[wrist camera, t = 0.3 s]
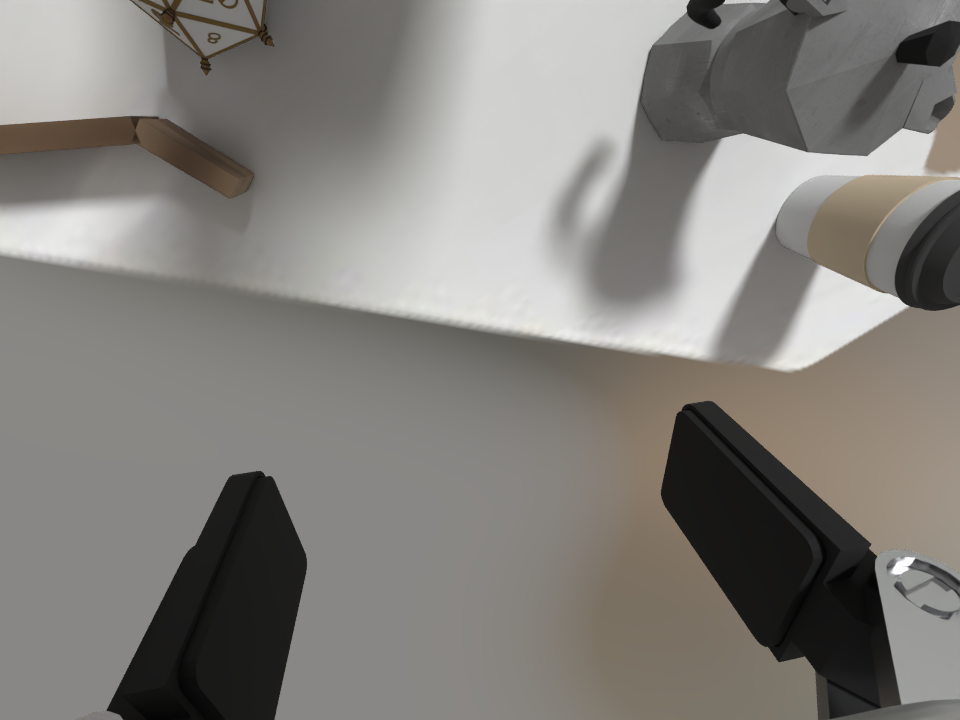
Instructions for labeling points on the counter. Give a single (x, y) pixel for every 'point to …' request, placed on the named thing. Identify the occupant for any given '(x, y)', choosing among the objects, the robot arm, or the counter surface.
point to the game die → (210, 23)
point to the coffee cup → (881, 233)
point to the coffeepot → (804, 72)
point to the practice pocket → (133, 130)
